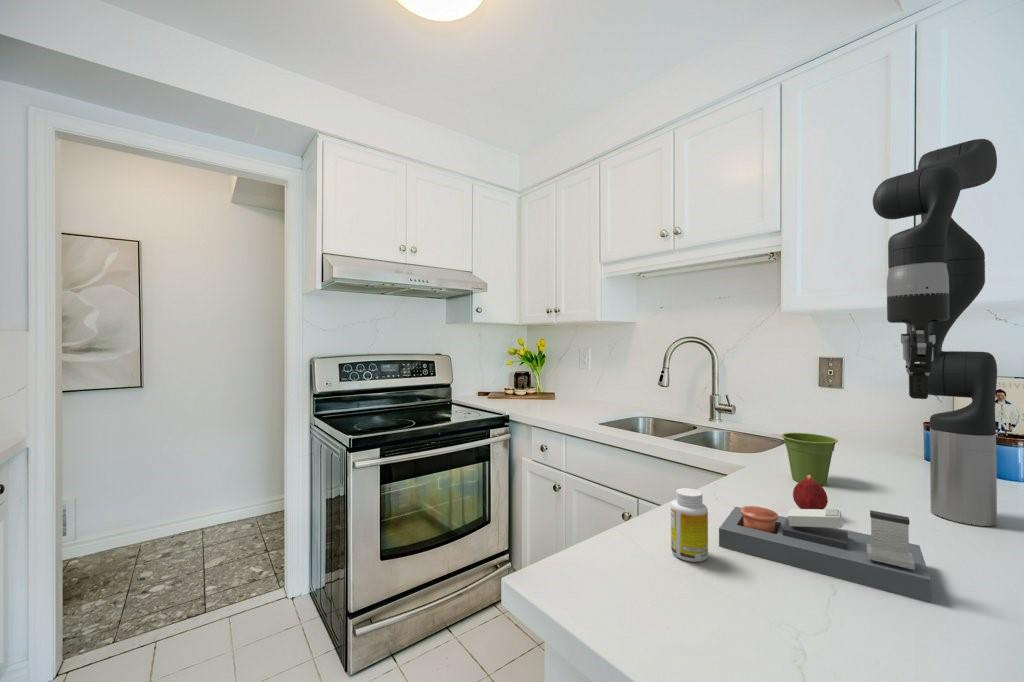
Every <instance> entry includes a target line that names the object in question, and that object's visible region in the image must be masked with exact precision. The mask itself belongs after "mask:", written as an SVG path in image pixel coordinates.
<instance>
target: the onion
mask: <svg viewBox="0 0 1024 682" xmlns="http://www.w3.org/2000/svg"><path fill="white" fill-rule="evenodd" d="M792 497H793V498H792V499H793V501H794V502H795V505H796V506H797V508H798V509H823V510H825V509H826V507H827V505H828V498H829V497H828V496H827V491H826V490H825V489H824V488H823V485H820V484H818V483H817V482H815V481H814V480H813V477H812V476H811V475H808V476H807V478H806V479H805V480H803V481H801V482H797V483H796V485H795V486H794V488H793V490H792Z"/></svg>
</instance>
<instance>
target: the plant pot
mask: <svg viewBox="0 0 1024 682" xmlns="http://www.w3.org/2000/svg"><path fill="white" fill-rule="evenodd" d="M781 437H782V438H783V440H784V444H785V447H786V452H787V456H788V462H789V467H790V475H791V479H792V480H793V481H795V482H797V483H799V482H801V481H803V480H805V479H806V478H807V476H808V475H811V476H812V477H813V480H814V481H815V482H817V483H818V484H820V485H821V486H824V485H825V484H827V482H828V478H829V473H830V467H831V462H832V457H833V452H834V451H835V446H836V444H837V443H838V442H839V440H838V438H835V437H831V436H828V435H822V434H815V433H808V432H807V433H806V432H785V433H781Z"/></svg>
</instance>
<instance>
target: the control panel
mask: <svg viewBox="0 0 1024 682" xmlns="http://www.w3.org/2000/svg"><path fill="white" fill-rule="evenodd" d="M741 508H742V507H739V506H735V507H734V508H733V509H732V510H731V511H730V513H729V514H728V516H727V517H726V519H725V520H724V521H723V523H721V525H720V526H719V528H718V547H721V548H725V549H728V550H732V551H736V552H740V553H744V554H747V555H751V556H755V557H759V558H762V559H766V560H769V561H773V562H776V563H781V564H785V565H789V566H792V567H794V568H795V567H796V568H800V569H804V570H807V571H811V572H814V573H818V574H823V575H825V576H826V575H827V576H830V577H833V578H837V579H841V580H844V581H848V582H852V583H856V584H860V585H862V586H867V587H871V588H875V589H878V590H882V591H886V592H890V593H893V594H897V595H901V596H903V597H908V598H912V599H915V600H920V601H923V602H926V603H930V604H931V603H932V579H931V576H930V574H929V571H928V567H927V565H926V561H925V557H924V555H923V551H922V550H921V546H920V545H919V544H915V543H909V553H912V556H913V560H914V563H915V570H913V569H909V568H905V567H900V566H896V565H892V564H888V563H883V562H879V561H875V560H871V559H867V543H868V544H871V534H868V533H863V532H858V531H854V530H853V531H852V530H848V529H843V528H829V527H803V526H790V525H789V520H788V516H787V517H786V516H782V515H778V520H777V521H775V534H773V533H769V532H765V531H760V530H756V529H752V528H748V527H744V516H743V515H742V514H741Z"/></svg>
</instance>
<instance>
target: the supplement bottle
mask: <svg viewBox="0 0 1024 682" xmlns="http://www.w3.org/2000/svg"><path fill="white" fill-rule="evenodd" d="M708 511H709V510H708V507H707V505H706V504H704V503H703V493H702V492H701V491H700V490H697V489H693V488H688V487H687V488H686V487H682V488H678V489H676V490H675V500H673V501H672V502H671V504H670V550H671V552H672V553H673V555H674V556H675V557H677V558H678V559H681V560H682V561H686V562H691V563H700V562H703V561H705V560H707V558H708V557H709V513H708Z"/></svg>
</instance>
